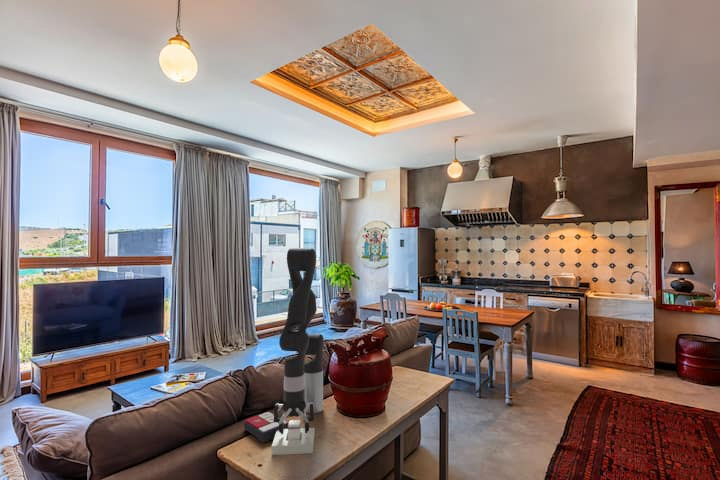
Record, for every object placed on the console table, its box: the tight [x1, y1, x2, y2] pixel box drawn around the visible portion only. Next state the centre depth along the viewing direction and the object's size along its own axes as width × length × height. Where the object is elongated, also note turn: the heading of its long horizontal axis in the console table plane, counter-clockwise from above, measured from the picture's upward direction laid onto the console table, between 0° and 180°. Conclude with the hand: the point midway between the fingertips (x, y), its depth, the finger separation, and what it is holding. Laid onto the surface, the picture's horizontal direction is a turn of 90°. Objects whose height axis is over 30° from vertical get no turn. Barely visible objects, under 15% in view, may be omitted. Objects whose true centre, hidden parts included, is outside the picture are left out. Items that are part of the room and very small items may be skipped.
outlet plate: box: [271, 427, 316, 456], centre depth 130 cm, size 12×14×3 cm
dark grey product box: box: [243, 411, 289, 444], centre depth 140 cm, size 11×4×15 cm
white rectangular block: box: [288, 419, 302, 441], centre depth 130 cm, size 4×4×8 cm
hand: (294, 432), depth 130 cm, fingers open, 8 cm apart
